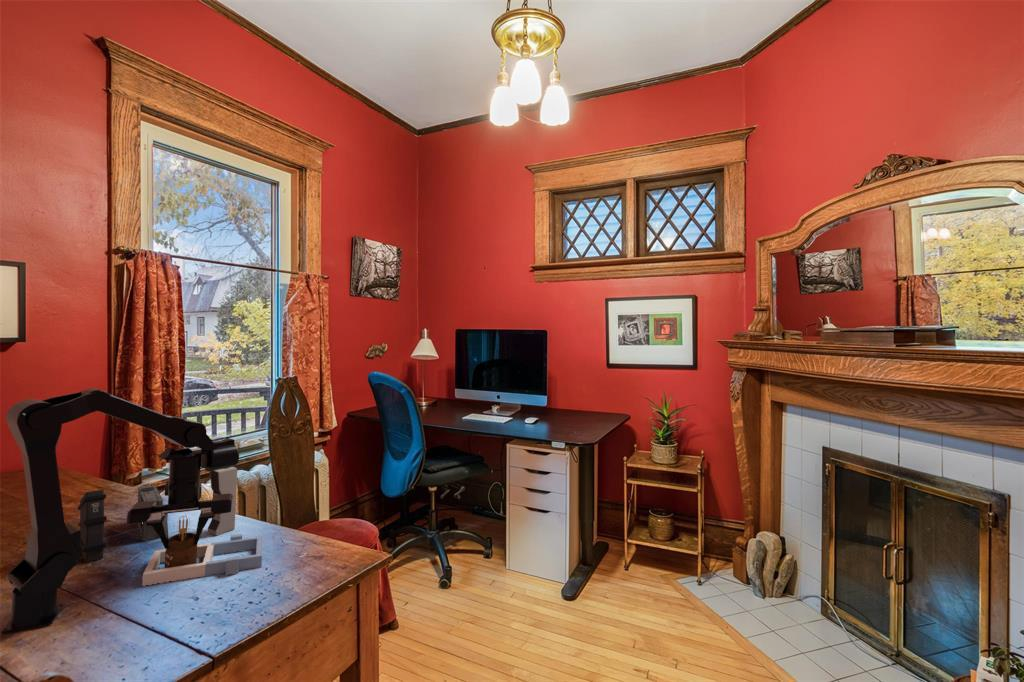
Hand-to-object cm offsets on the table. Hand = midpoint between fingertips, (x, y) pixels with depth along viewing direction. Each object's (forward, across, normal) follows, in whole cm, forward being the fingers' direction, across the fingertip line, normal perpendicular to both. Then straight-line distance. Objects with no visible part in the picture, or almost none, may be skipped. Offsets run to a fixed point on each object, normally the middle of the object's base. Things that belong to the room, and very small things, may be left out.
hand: (181, 546), depth 103 cm
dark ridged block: (+5, +20, -17) cm, 27 cm away
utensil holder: (+5, 0, 0) cm, 5 cm away
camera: (+5, +11, -27) cm, 30 cm away
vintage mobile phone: (+5, -6, -19) cm, 21 cm away
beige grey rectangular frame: (+5, -5, 0) cm, 7 cm away
